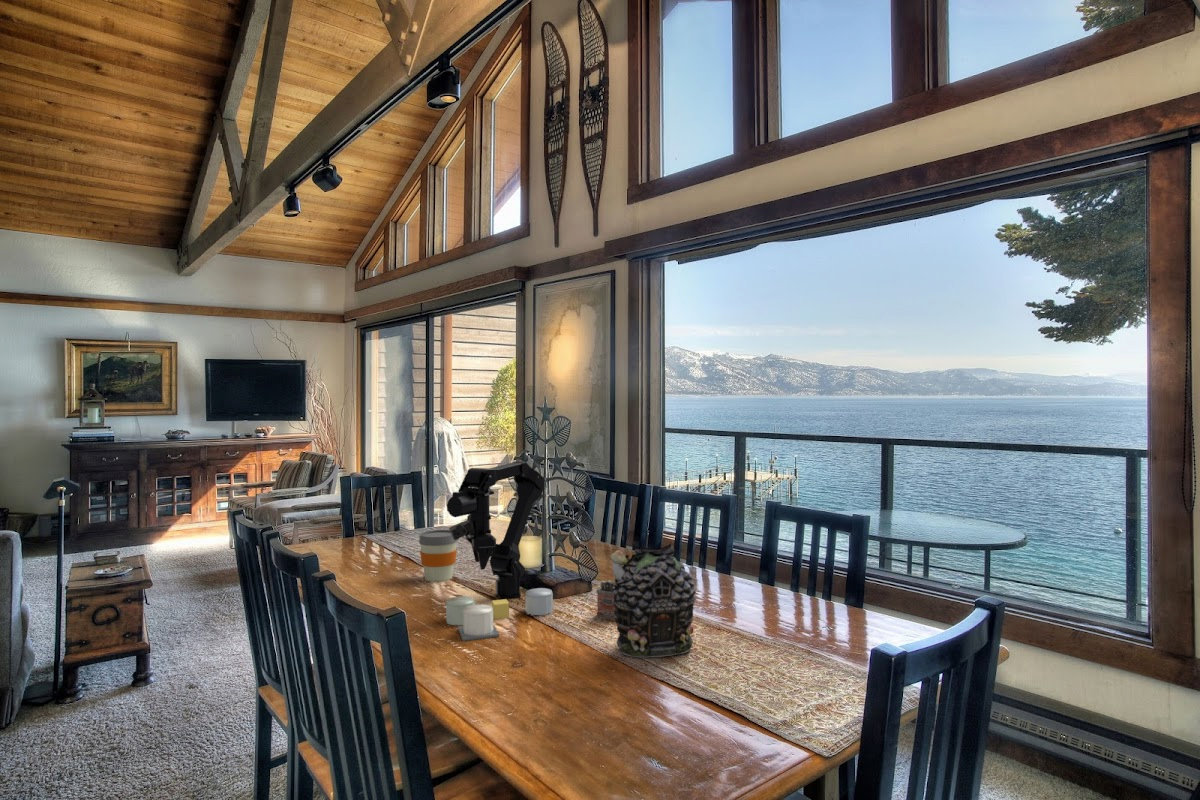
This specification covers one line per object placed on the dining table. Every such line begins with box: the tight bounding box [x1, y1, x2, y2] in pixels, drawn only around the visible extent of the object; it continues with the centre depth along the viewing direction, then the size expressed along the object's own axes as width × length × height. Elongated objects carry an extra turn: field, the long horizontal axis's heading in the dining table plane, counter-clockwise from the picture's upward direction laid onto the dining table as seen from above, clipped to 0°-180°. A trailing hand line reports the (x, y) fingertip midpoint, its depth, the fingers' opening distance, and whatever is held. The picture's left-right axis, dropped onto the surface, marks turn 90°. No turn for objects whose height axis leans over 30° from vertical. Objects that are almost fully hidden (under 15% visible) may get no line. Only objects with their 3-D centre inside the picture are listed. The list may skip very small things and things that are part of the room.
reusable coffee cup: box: [418, 529, 459, 583], centre depth 223 cm, size 13×13×15 cm
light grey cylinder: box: [525, 587, 554, 616], centre depth 187 cm, size 7×7×6 cm
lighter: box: [596, 579, 615, 621], centre depth 181 cm, size 8×3×10 cm, turn 62°
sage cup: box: [445, 595, 476, 626], centre depth 180 cm, size 7×7×6 cm
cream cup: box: [462, 604, 494, 636], centre depth 170 cm, size 7×7×6 cm
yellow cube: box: [491, 598, 510, 620], centre depth 183 cm, size 4×4×4 cm
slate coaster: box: [457, 624, 500, 642], centre depth 170 cm, size 9×9×1 cm
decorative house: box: [610, 544, 697, 659], centre depth 158 cm, size 21×15×25 cm
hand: (479, 565), depth 191 cm, fingers open, 9 cm apart
